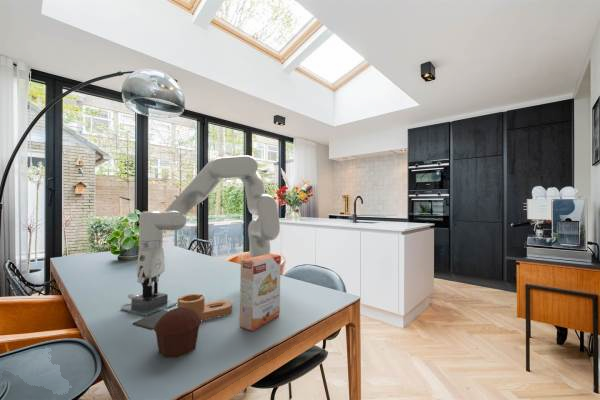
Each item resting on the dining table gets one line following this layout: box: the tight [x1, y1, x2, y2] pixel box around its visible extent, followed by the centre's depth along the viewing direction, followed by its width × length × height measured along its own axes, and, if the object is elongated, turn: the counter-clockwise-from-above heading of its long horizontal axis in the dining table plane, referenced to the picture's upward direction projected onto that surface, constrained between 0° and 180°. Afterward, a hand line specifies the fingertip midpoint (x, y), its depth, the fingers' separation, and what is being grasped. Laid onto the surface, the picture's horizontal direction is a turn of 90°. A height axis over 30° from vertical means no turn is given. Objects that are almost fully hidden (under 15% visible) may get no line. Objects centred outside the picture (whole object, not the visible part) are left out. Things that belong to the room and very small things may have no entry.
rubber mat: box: [132, 310, 170, 330], centre depth 87 cm, size 9×11×1 cm
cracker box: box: [238, 253, 282, 332], centre depth 87 cm, size 14×6×21 cm, turn 148°
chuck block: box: [120, 292, 178, 317], centre depth 98 cm, size 18×12×4 cm, turn 66°
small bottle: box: [145, 277, 155, 299], centre depth 98 cm, size 3×3×10 cm
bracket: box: [176, 293, 233, 321], centre depth 91 cm, size 18×8×7 cm, turn 125°
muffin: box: [153, 307, 202, 359], centre depth 70 cm, size 12×11×10 cm
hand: (150, 294), depth 98 cm, fingers closed on small bottle, 2 cm apart
